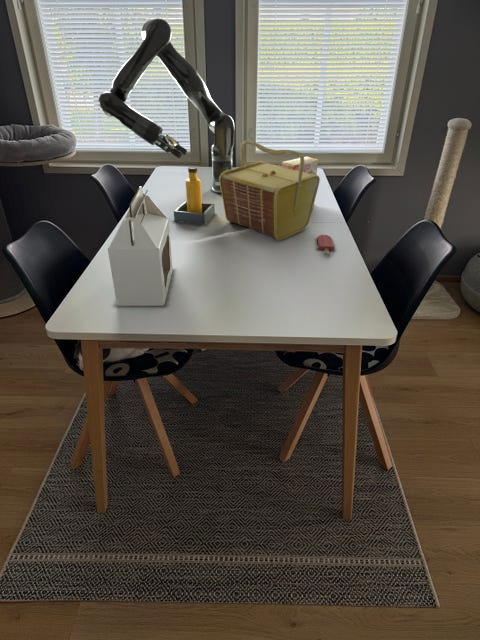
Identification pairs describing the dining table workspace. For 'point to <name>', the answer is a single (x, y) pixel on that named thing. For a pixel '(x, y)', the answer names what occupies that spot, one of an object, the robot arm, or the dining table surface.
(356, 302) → the dining table surface
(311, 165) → the coffeecake box
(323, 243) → the popsicle
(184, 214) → the tub
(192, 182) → the bottle
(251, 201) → the picnic basket
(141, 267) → the gable box
